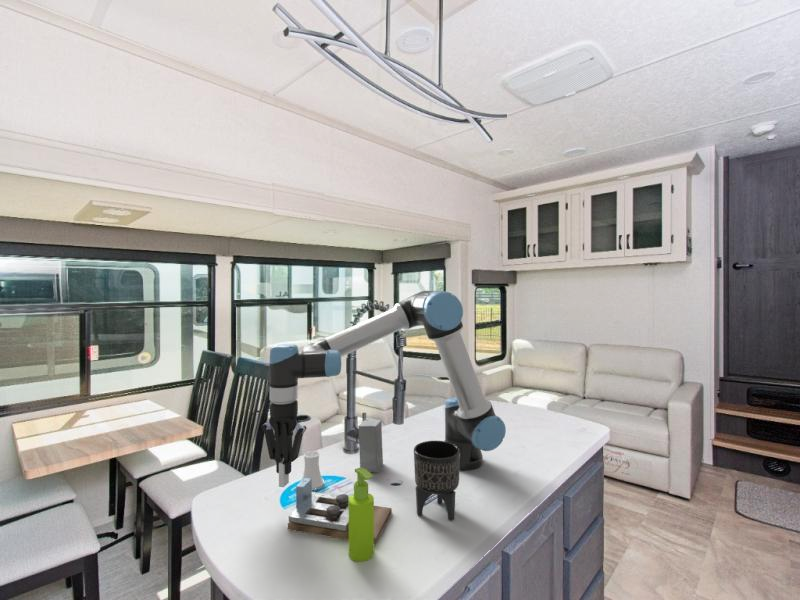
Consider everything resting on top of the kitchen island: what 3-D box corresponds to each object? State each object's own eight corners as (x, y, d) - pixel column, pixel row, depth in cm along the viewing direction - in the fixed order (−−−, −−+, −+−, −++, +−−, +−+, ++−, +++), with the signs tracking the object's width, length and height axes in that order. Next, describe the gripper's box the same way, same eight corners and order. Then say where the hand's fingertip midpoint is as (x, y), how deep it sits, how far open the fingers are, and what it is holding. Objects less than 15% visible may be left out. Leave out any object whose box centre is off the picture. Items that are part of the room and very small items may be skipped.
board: (391, 513, 111) (391, 496, 111) (375, 544, 98) (375, 525, 97) (312, 501, 117) (312, 485, 117) (287, 529, 104) (287, 511, 104)
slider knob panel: (363, 504, 113) (363, 478, 112) (345, 531, 100) (345, 501, 100) (312, 496, 117) (311, 471, 117) (288, 521, 104) (288, 493, 104)
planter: (469, 512, 112) (469, 449, 111) (439, 531, 103) (439, 463, 102) (434, 495, 121) (434, 436, 121) (404, 511, 112) (404, 448, 112)
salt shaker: (315, 493, 122) (315, 460, 122) (294, 488, 125) (294, 456, 125) (328, 481, 129) (328, 451, 129) (308, 477, 132) (308, 448, 132)
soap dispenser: (359, 567, 89) (358, 479, 89) (344, 551, 95) (343, 468, 94) (381, 557, 93) (380, 472, 92) (365, 542, 98) (365, 461, 98)
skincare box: (377, 473, 135) (377, 427, 135) (357, 471, 137) (357, 425, 136) (383, 462, 143) (383, 419, 143) (364, 461, 145) (364, 417, 144)
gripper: (311, 398, 113) (311, 481, 113) (270, 395, 116) (270, 475, 117) (298, 406, 106) (298, 494, 106) (255, 402, 109) (255, 487, 110)
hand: (283, 484), depth 111 cm, fingers closed
